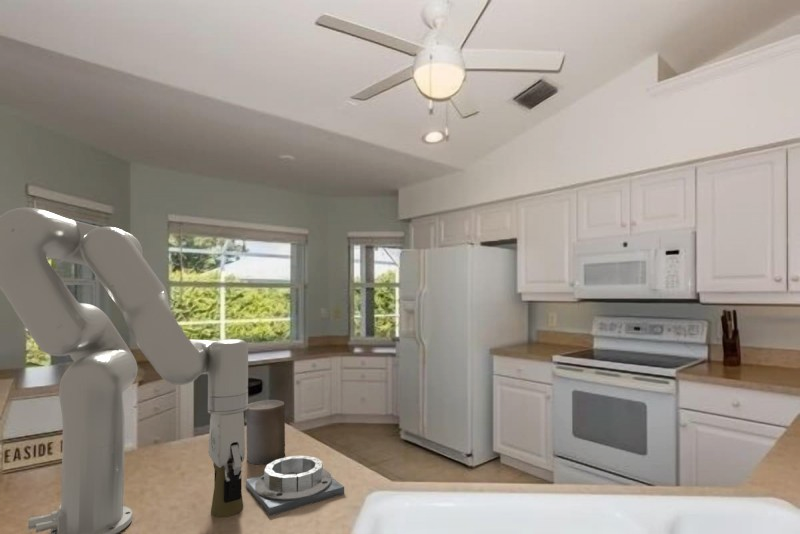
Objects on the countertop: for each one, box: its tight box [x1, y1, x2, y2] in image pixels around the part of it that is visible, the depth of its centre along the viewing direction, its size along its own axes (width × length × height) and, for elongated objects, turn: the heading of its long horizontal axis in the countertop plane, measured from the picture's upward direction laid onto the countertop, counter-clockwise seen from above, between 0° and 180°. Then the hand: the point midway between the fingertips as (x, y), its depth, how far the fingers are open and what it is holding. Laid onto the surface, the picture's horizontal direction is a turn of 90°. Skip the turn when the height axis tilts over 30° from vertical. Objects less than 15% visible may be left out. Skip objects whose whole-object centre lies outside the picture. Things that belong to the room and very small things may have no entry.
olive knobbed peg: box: [210, 460, 244, 518], centre depth 89 cm, size 6×6×11 cm
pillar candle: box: [245, 398, 286, 465], centre depth 117 cm, size 10×10×15 cm
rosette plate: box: [245, 455, 345, 517], centre depth 98 cm, size 16×16×5 cm
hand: (227, 492), depth 89 cm, fingers open, 6 cm apart
